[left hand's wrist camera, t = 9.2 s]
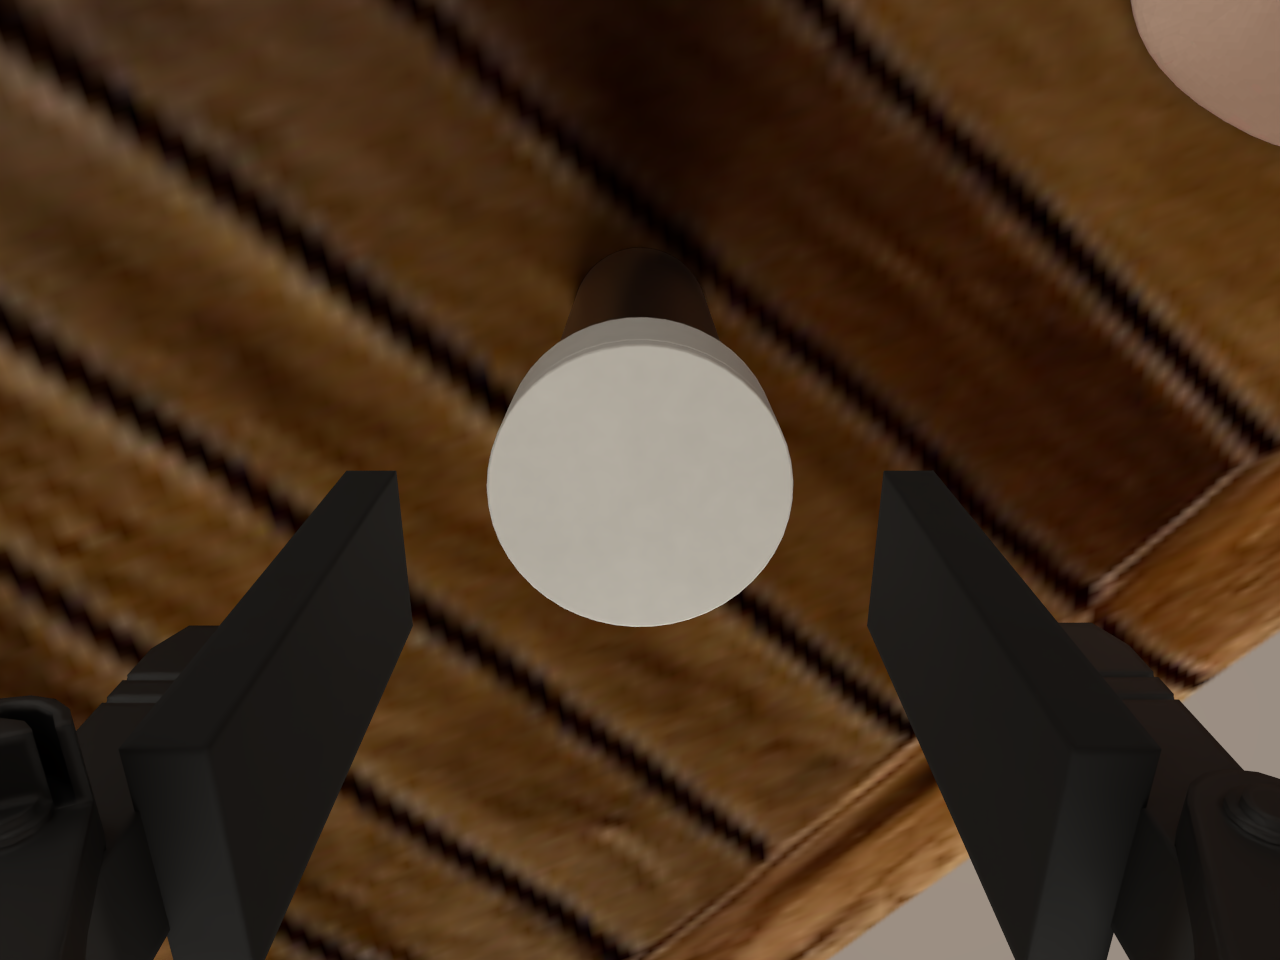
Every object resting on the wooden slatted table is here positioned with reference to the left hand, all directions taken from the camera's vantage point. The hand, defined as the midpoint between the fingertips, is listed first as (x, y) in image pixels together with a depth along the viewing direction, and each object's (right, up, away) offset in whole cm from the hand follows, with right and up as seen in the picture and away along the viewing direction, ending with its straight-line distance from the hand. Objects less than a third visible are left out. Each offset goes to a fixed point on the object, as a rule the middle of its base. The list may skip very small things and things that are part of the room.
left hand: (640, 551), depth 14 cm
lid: (0, +1, +2) cm, 3 cm away
